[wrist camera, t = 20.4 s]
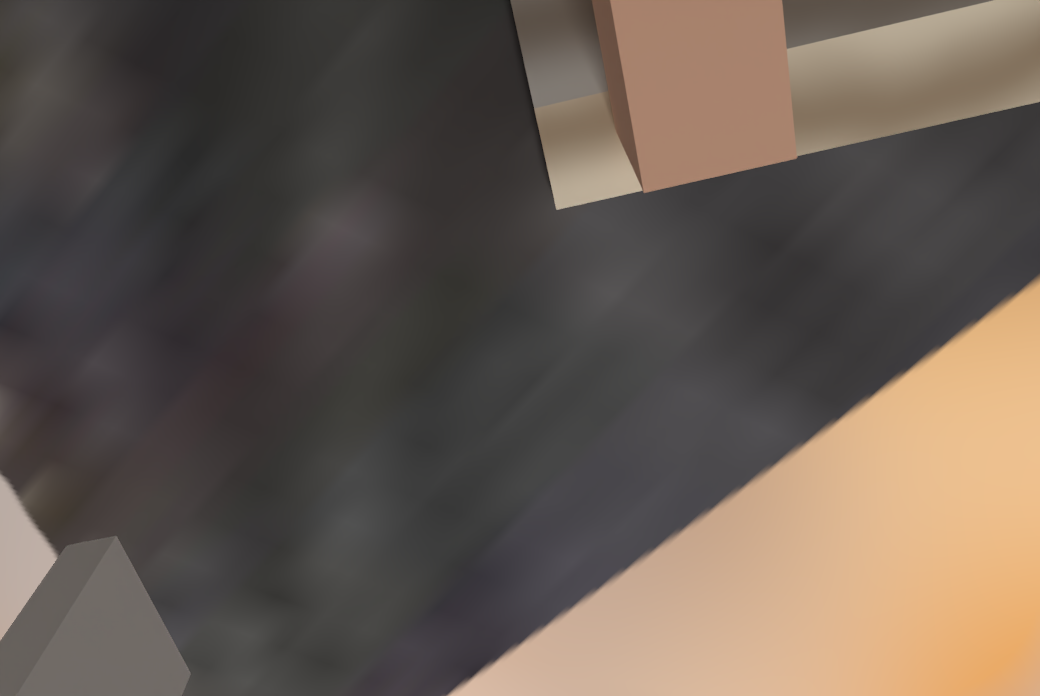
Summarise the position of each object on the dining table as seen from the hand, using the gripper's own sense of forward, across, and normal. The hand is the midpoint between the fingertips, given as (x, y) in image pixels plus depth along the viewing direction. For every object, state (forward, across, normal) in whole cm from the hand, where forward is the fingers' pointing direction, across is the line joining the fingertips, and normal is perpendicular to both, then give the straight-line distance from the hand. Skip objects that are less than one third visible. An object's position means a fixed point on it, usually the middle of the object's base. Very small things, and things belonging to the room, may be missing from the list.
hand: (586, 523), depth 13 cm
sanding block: (+24, +5, +3) cm, 24 cm away
